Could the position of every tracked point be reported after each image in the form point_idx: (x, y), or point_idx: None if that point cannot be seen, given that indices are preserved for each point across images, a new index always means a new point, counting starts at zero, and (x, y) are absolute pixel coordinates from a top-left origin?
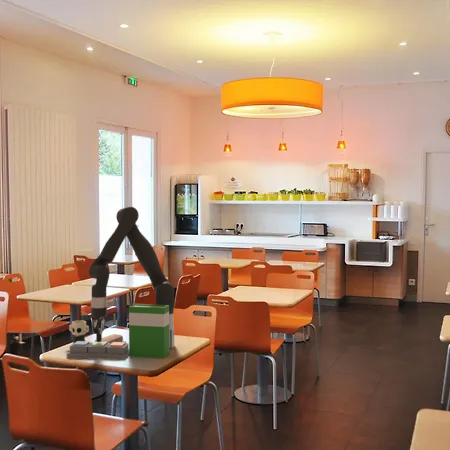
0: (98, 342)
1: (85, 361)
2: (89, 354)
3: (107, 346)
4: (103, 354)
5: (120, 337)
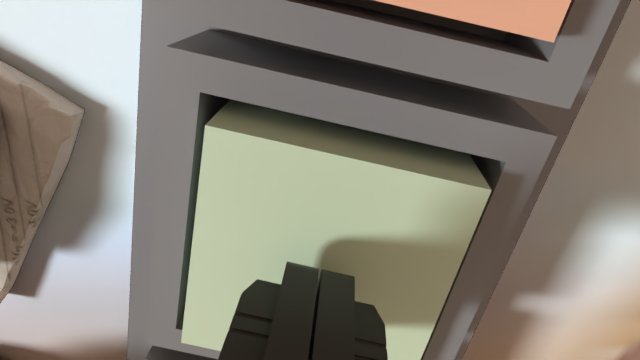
0: None
1: (611, 310)
2: (479, 310)
3: (509, 93)
4: (570, 127)
5: None
